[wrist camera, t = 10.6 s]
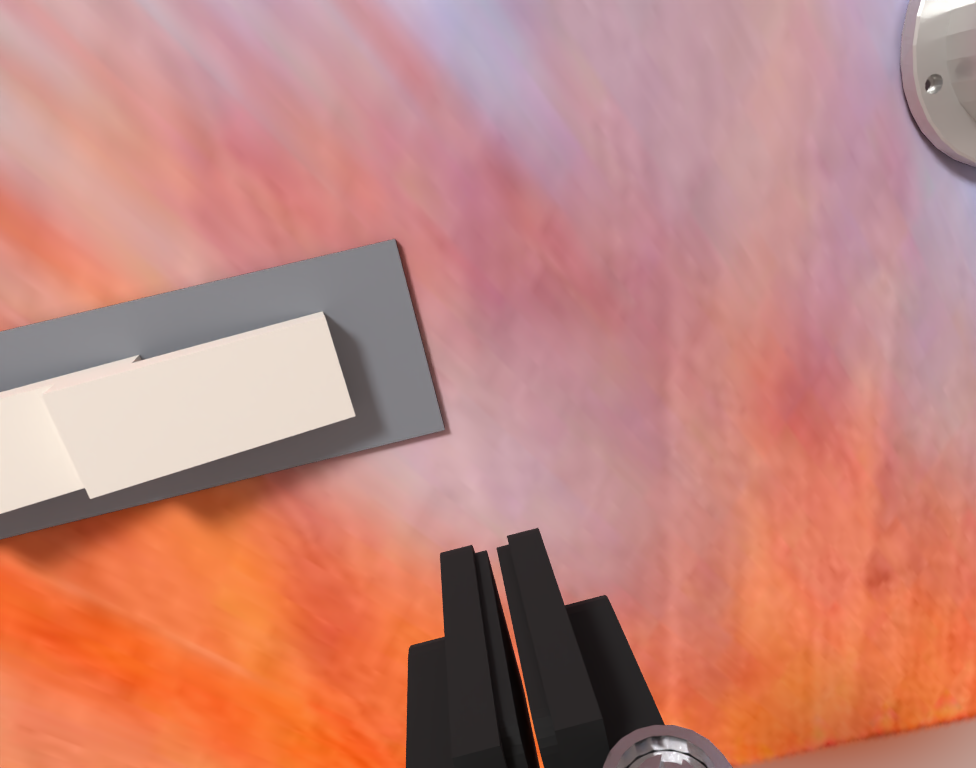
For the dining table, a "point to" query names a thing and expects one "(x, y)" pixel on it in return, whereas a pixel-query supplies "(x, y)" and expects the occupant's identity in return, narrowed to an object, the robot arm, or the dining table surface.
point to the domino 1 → (36, 445)
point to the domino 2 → (199, 403)
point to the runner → (234, 310)
